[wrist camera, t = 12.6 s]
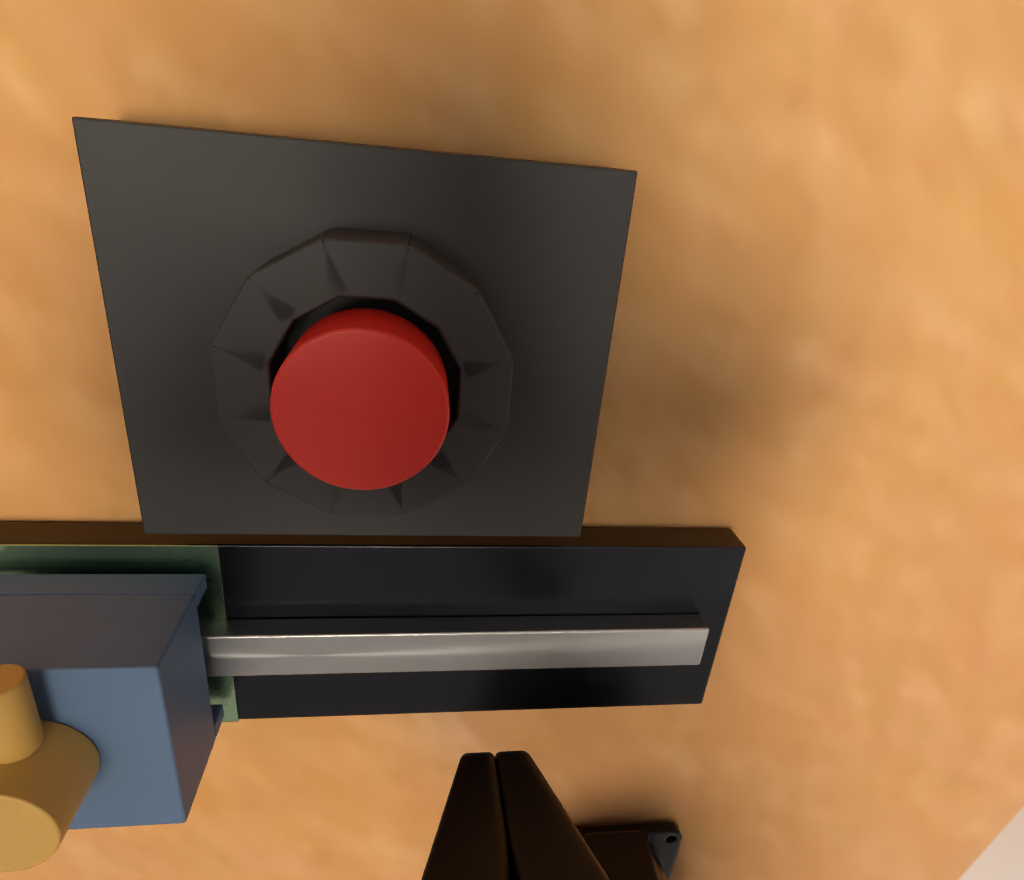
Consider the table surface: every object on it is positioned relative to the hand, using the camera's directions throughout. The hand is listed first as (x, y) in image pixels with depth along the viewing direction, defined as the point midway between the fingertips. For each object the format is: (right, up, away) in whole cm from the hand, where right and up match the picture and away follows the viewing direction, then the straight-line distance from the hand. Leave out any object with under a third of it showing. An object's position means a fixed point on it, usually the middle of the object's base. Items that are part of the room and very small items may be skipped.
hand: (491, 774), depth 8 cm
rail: (-6, -2, +13) cm, 15 cm away
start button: (-3, +6, +6) cm, 9 cm away
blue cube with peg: (-12, -2, +11) cm, 16 cm away
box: (-3, +7, +10) cm, 12 cm away
